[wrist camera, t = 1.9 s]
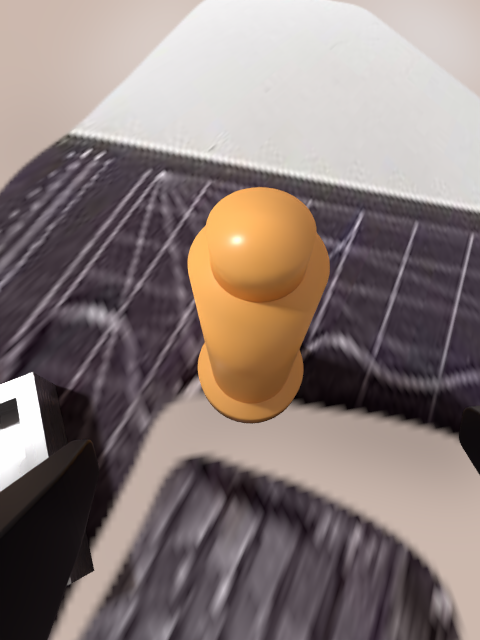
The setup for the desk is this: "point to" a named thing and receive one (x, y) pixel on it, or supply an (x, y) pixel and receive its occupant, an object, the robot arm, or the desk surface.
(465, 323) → the desk surface
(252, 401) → the orange game pawn
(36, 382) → the gray square tray
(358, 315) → the desk surface
